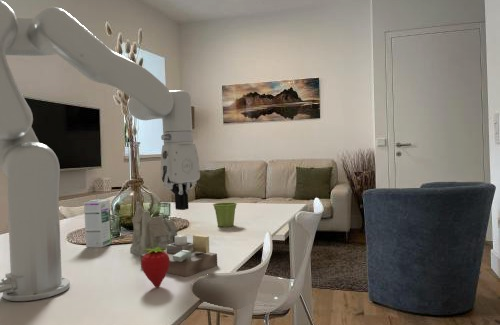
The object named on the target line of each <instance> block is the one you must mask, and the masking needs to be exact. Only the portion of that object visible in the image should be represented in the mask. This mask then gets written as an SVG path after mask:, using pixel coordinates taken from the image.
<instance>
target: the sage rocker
mask: <svg viewBox="0 0 500 325" xmlns="http://www.w3.org/2000/svg"><path fill="white" fill-rule="evenodd" d="M191 256H192V254H191V251H187V250H182V251H180V252H178V253H176V254H175V255H173V260H174V261H179V262H182V261H184V260H185V259H186V257H191Z"/></svg>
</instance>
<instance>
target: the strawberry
mask: <svg viewBox="0 0 500 325" xmlns="http://www.w3.org/2000/svg"><path fill="white" fill-rule="evenodd" d="M152 242H153V241H152ZM153 243H154V242H153ZM154 244H155V243H154ZM155 245H156V244H155ZM156 246H157V245H156ZM166 249H167V248H166ZM163 250H165V249H160V248H159V247H157V248H155V250H154V249H145V250H142V251H150V252H148V253H147V254H145V255H144V256H143V258H142V263H141V262H140V266H141V265H142V267H141V269H142V271H143V274H144V275H145V276H146V278H147V279H148V280H149V282H150V283H152V285H153V287H155V288H159V287H160V286H161V284H162V282H163V281H164V279H165V278H166V274H168V273H167V271H168V268H169V263H170V260H169V256H168V255H167V253H165V252H164V251H163Z"/></svg>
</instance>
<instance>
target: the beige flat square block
mask: <svg viewBox="0 0 500 325" xmlns="http://www.w3.org/2000/svg"><path fill="white" fill-rule="evenodd" d="M192 243H193V251H196V252H202V253H208V252H210V236H209V235H202V234H193V235H192Z"/></svg>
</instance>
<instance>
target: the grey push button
mask: <svg viewBox="0 0 500 325" xmlns="http://www.w3.org/2000/svg"><path fill="white" fill-rule="evenodd" d="M187 242H188V235H186V234H177V236H175V246H179V247H182V246H185V245H187Z"/></svg>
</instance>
